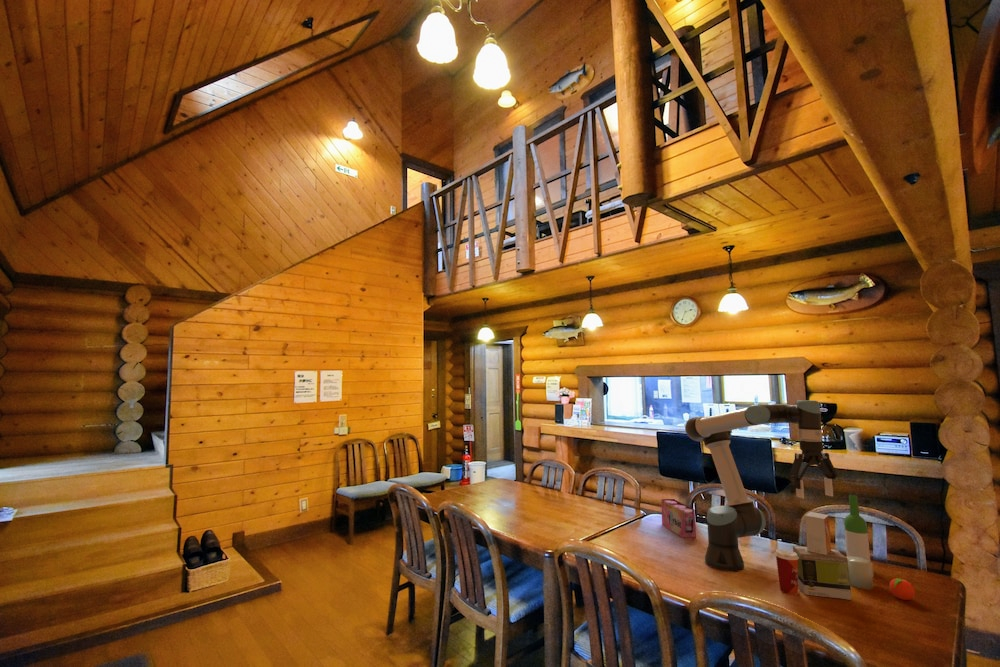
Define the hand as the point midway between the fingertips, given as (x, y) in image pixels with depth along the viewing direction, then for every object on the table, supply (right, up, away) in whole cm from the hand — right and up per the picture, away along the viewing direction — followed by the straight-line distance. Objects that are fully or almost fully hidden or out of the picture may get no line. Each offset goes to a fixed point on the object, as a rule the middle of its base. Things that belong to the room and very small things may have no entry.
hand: (815, 496), depth 171 cm
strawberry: (+25, -34, -10) cm, 43 cm away
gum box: (-26, -43, +66) cm, 83 cm away
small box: (0, -20, -2) cm, 20 cm away
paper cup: (-12, -34, -4) cm, 37 cm away
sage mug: (+20, -35, +3) cm, 41 cm away
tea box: (0, -35, -4) cm, 35 cm away
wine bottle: (+31, -37, +17) cm, 51 cm away
